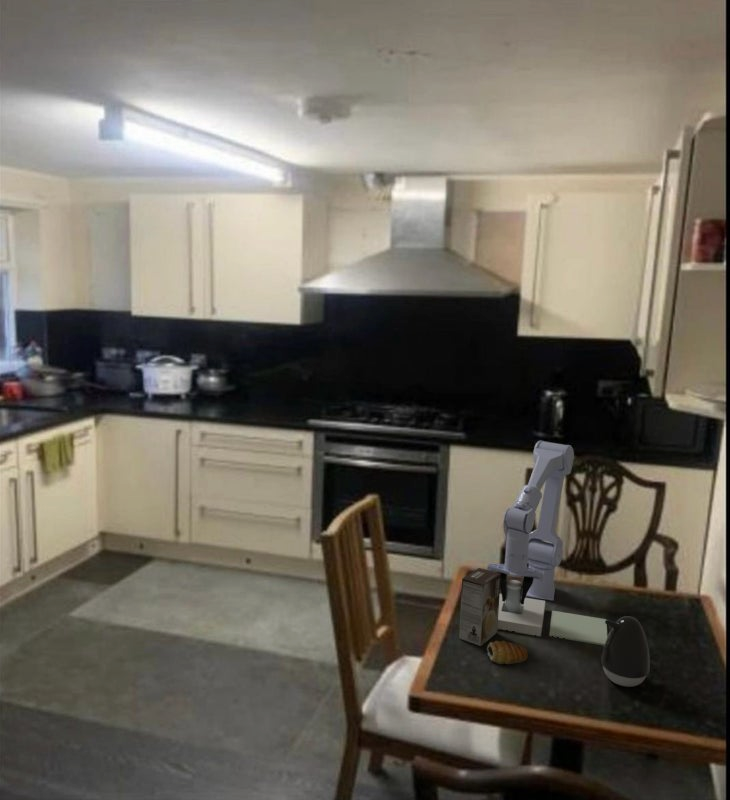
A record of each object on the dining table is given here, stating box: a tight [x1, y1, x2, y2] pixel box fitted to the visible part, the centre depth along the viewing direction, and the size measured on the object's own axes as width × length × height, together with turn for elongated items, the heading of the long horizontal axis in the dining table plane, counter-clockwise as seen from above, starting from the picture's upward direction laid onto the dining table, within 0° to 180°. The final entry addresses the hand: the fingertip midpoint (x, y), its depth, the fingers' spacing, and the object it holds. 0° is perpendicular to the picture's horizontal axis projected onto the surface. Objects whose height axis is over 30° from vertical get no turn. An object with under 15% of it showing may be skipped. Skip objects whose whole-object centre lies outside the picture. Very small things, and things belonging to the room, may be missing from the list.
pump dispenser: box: [600, 615, 651, 688], centre depth 159 cm, size 10×10×15 cm
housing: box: [497, 593, 546, 637], centre depth 188 cm, size 16×16×2 cm
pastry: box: [486, 640, 529, 665], centre depth 168 cm, size 9×7×4 cm
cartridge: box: [504, 579, 523, 614], centre depth 188 cm, size 4×4×8 cm
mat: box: [548, 610, 608, 647], centre depth 184 cm, size 14×14×1 cm
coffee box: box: [458, 567, 501, 647], centre depth 177 cm, size 9×6×16 cm
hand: (513, 601), depth 188 cm, fingers closed on cartridge, 4 cm apart
